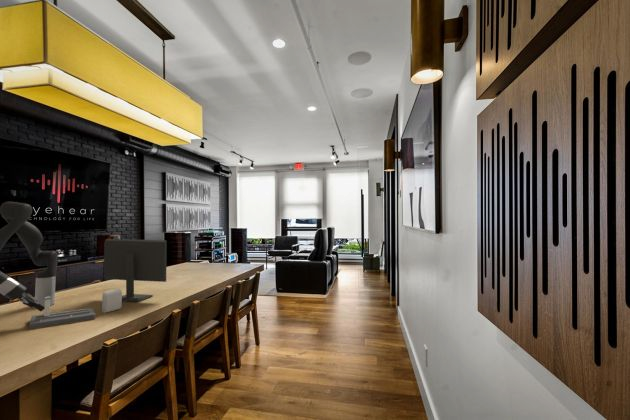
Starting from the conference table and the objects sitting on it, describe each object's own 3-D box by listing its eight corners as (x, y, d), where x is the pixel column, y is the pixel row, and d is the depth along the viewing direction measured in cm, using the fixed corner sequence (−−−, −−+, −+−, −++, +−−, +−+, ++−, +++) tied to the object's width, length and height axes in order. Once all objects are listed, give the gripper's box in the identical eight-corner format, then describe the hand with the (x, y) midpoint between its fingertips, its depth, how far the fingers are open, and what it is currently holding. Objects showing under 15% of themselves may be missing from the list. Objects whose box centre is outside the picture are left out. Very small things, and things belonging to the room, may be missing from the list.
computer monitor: (170, 297, 213) (172, 239, 214) (156, 303, 197) (158, 241, 198) (112, 294, 217) (115, 238, 219) (94, 300, 201) (96, 239, 203)
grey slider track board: (31, 320, 161) (31, 313, 161) (92, 311, 177) (92, 305, 177) (29, 329, 148) (29, 322, 148) (94, 319, 165) (95, 312, 165)
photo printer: (105, 313, 175) (105, 291, 175) (100, 312, 177) (101, 290, 177) (122, 308, 184) (123, 288, 185) (118, 307, 186) (119, 287, 186)
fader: (43, 316, 159) (44, 297, 159) (50, 315, 161) (51, 296, 161) (42, 318, 156) (43, 298, 156) (50, 317, 158) (51, 297, 158)
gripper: (17, 285, 147) (49, 306, 154) (20, 280, 157) (50, 300, 164) (0, 297, 143) (34, 319, 151) (5, 292, 154) (36, 312, 161)
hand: (43, 309), depth 158 cm, fingers closed
